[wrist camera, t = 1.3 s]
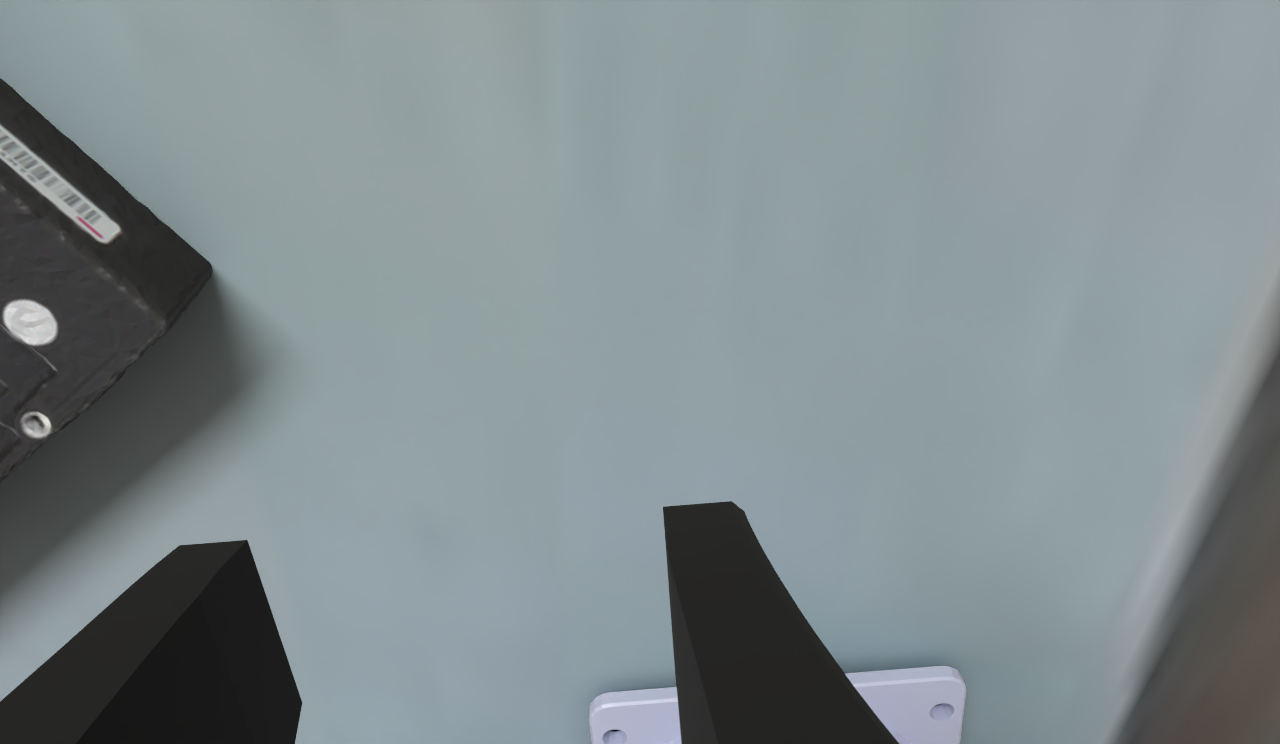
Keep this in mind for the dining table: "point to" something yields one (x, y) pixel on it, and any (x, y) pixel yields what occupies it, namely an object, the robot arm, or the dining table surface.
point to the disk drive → (74, 280)
